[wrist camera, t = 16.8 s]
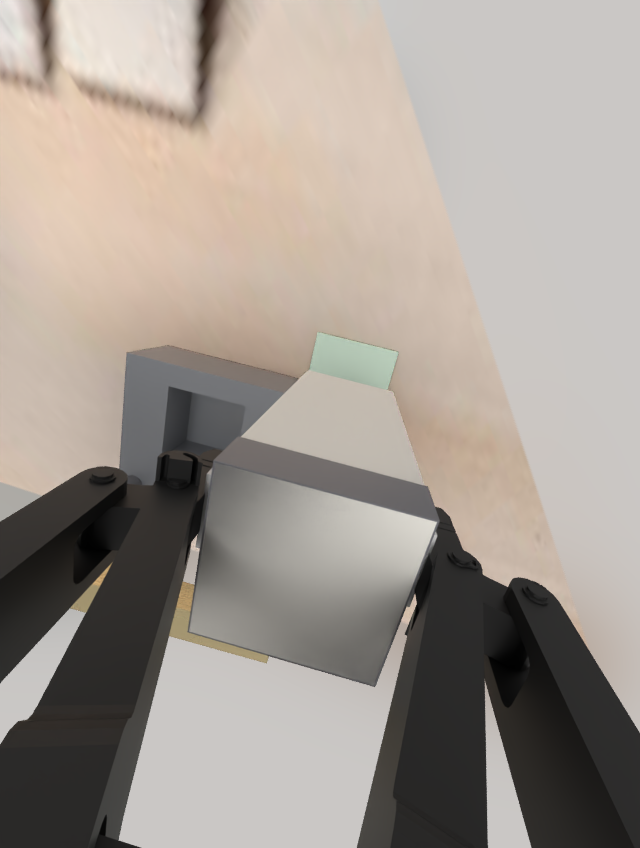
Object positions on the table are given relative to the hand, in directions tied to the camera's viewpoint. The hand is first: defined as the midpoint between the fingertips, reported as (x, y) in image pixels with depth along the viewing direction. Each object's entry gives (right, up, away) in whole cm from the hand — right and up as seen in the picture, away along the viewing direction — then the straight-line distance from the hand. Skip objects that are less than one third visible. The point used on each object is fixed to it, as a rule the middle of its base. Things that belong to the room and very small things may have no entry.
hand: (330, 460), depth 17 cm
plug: (+1, +2, +6) cm, 7 cm away
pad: (+2, +6, +20) cm, 21 cm away
